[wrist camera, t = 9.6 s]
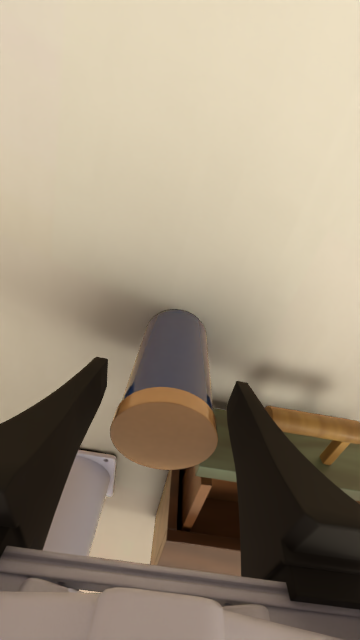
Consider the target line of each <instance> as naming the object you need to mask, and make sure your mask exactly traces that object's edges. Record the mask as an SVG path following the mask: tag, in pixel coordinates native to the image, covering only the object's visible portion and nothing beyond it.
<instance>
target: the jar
mask: <svg viewBox="0 0 360 640" xmlns="http://www.w3.org/2000/svg"><path fill="white" fill-rule="evenodd" d="M110 436H111V440H112V442H113V444H114V446H115V447H116V449H117V450H118V451H119V452H120V453H121V454H122V455H124V456H125V457H126V458H128V459H130V460H131V461H133V462H135V463H137V464H140V465H143V466H146V467H150V468H155V469H162V470H177V469H184V468H189V467H192V466H195V465H198V464H200V463H202V462H203V461H205V460H206V459H208V458H209V457H210V456H211V455H212V454H213V452H214V451H215V449H216V447H217V444H218V433H217V423H216V417H215V415H214V413H213V403H212V392H211V380H210V369H209V358H208V347H207V336H206V330H205V327H204V325H203V324H202V322H201V321H200V320H199V319H198V318H197V317H196V316H194V315H193V314H191V313H189V312H186V311H183V310H167V311H163V312H161V313H159V314H157V315H156V316H154V317H153V318H152V319H151V320H150V322H149V323H148V325H147V327H146V330H145V333H144V336H143V339H142V342H141V345H140V348H139V351H138V354H137V357H136V360H135V363H134V366H133V369H132V372H131V375H130V378H129V381H128V384H127V387H126V390H125V393H124V396H123V399H122V402H121V403H120V404H119V406H118V407H117V410H116V412H115V415H114V418H113V421H112V424H111V428H110Z"/></svg>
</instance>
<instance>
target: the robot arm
mask: <svg viewBox="0 0 360 640" xmlns="http://www.w3.org/2000/svg"><path fill="white" fill-rule="evenodd" d="M107 368H108V359H106V358H100V357H96V358H94V359H93V360H92V361H91V362H90V363H89V364H88V365H87V366H86V367H84V368H83V369H82V370H81V371H80V372H79V373H78V374H76V375H75V376H74V377H73V378H71V379H70V380H69V381H68V382H67V383H65V384H64V385H63V386H61V387H60V388H59V389H57V390H56V391H55V392H53V393H52V394H50V395H49V396H48V397H46V398H45V399H43V400H42V401H40V402H38V403H37V404H35V405H34V406H32V407H30V408H29V409H27V410H25V411H24V412H22V413H20V414H18V415H17V416H15V417H13V418H11V419H9V420H7V421H5V422H3V423H1V424H0V640H360V504H359V503H358V502H356V501H355V500H354V499H352V498H351V497H350V496H349V495H347V494H346V493H345V492H344V491H342V490H341V489H340V488H339V487H338V486H336V485H335V484H334V483H333V482H332V481H331V480H330V479H328V478H327V477H326V476H325V475H324V474H323V473H322V472H321V471H319V470H318V469H317V468H316V467H315V466H314V465H313V464H312V463H311V462H310V461H309V460H308V459H307V458H306V457H305V456H304V455H303V454H302V453H301V452H300V451H299V450H298V449H297V448H296V446H295V445H294V444H293V443H292V442H291V441H290V440H289V439H288V438H287V436H286V435H285V434H284V433H283V432H282V430H281V429H280V428H279V427H278V425H277V424H276V423H275V422H274V420H273V419H272V418H271V416H270V415H269V414H268V412H267V411H266V409H265V408H264V407H263V405H262V404H261V402H260V401H259V399H258V398H257V397H256V395H255V394H254V392H253V391H252V389H251V388H250V386H249V385H248V383H245V382H239V381H237V382H236V384H235V386H234V389H233V391H232V394H231V396H230V399H229V401H228V404H227V425H228V431H229V436H230V442H231V448H232V453H233V459H234V464H235V471H236V480H237V492H238V506H239V524H240V548H241V577H240V576H233V575H225V574H218V573H210V572H202V571H195V570H187V569H180V568H172V567H164V566H157V565H149V564H142V563H134V562H126V561H119V560H111V559H104V558H96V557H89V553H90V549H91V546H92V542H93V539H94V535H95V532H96V528H97V525H98V521H99V518H100V514H101V511H102V507H103V504H104V500H105V497H106V496H108V497H111V496H112V495H113V492H114V481H115V469H116V457H115V456H114V455H109V454H103V453H97V452H90V451H84V450H79V447H80V445H81V443H82V441H83V439H84V437H85V435H86V433H87V430H88V428H89V426H90V424H91V422H92V420H93V418H94V416H95V414H96V412H97V410H98V408H99V406H100V404H101V401H102V398H103V396H104V393H105V390H106V387H107ZM79 589H80V590H88V591H96V592H102V593H84V592H80V591H79ZM222 607H224V608H222Z"/></svg>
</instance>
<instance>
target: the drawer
mask: <svg viewBox="0 0 360 640" xmlns="http://www.w3.org/2000/svg"><path fill="white" fill-rule="evenodd" d="M265 409H266V411H267V412H268V414H269V415H270V416H271V418H272V419H273V420H274V422H275V423H276V424H277V425H278V427H279V428H280V429H281V430H282V432H283V433H284V434H285V435H286V436H287V438H288V439H289V440H290V441H291V442H292V443H293V444H294V445H295V446H296V448H297V449H298V450H299V451H300V452H301V453H302V454H303V455H304V456H305V457H306V458H307V459H308V460H309V461H310V462H311V463H312V464H313V465H314V466H315V467H316V468H317V469H318V470H319V471H321V472H322V473H323V474H324V475H325V476H326V477H327V478H328V479H330V480H331V481H332V482H333V483H334V484H335V485H336V486H338V487H339V488H340V489H341V490H342V491H344V492H345V493H346V494H347V495H349V496H350V497H351V498H352V499H354V500H355V501H356V502H358V503H359V504H360V422H359V421H355V420H349V419H343V418H338V417H332V416H326V415H320V414H314V413H308V412H302V411H296V410H290V409H285V408H279V407H273V406H267V407H266V408H265ZM213 413H214V415H215V417H216V423H217V433H218V444H217V447H216V449H215V451H214V452H213V454H212V455H211V456H210V457H209V458H208V459H206V460H205V461H203V462H202V463H200V464H198V465H195V466H192V467H189V468H186V470H185V473H184V475H183V478H182V481H181V484H180V487H179V495H178V496H179V497H178V515H177V530H179V531H186V532H193V533H200V534H207V535H214V536H221V537H228V538H235V539H240V524H239V506H238V492H237V480H236V471H235V464H234V459H233V453H232V448H231V442H230V436H229V431H228V425H227V410H221V409H216V408H213Z"/></svg>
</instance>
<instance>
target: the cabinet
mask: <svg viewBox="0 0 360 640" xmlns="http://www.w3.org/2000/svg"><path fill="white" fill-rule="evenodd" d="M185 470H186V468H184V469H177V470H169V472H168V476H167V479H166V483H165V486H164V490H163V493H162V496H161V500H160V503H159V507H158V510H157V514H156V518H155V526H154V535H153V544H152V552H151V561H150V565H157V566H164V567H172V568H180V569H187V570H195V571H202V572H210V573H218V574H225V575H233V576H240V577H241V548H240V539H235V538H228V537H221V536H214V535H207V534H200V533H193V532H186V531H179V530H177V515H178V497H179V496H178V495H179V487H180V484H181V481H182V478H183V475H184V473H185Z"/></svg>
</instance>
